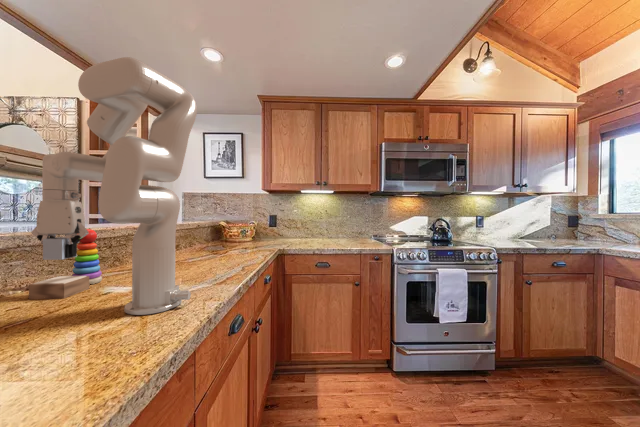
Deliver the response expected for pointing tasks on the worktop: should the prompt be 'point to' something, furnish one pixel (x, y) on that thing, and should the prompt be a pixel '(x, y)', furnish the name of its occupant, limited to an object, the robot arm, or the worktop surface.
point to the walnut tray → (58, 287)
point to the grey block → (54, 248)
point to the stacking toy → (88, 258)
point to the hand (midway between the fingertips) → (60, 256)
